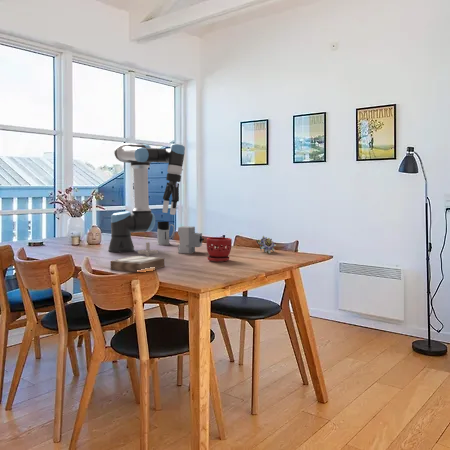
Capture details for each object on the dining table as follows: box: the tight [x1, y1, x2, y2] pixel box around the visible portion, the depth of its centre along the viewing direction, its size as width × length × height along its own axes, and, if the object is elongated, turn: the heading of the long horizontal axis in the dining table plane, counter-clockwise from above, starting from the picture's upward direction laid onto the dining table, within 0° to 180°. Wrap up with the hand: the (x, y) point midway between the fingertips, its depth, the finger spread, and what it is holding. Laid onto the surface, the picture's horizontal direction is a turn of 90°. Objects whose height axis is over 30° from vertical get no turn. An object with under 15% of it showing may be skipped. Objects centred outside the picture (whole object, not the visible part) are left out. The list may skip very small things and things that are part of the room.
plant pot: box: [206, 236, 233, 263], centre depth 246 cm, size 13×13×12 cm
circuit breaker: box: [177, 225, 205, 254], centre depth 276 cm, size 8×14×15 cm, turn 78°
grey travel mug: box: [156, 221, 175, 246], centre depth 314 cm, size 9×14×15 cm, turn 54°
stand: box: [110, 255, 165, 272], centre depth 225 cm, size 18×18×4 cm
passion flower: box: [256, 235, 277, 255], centre depth 275 cm, size 11×11×12 cm
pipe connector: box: [137, 241, 159, 257], centre depth 243 cm, size 10×10×10 cm
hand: (168, 213), depth 250 cm, fingers open, 13 cm apart
